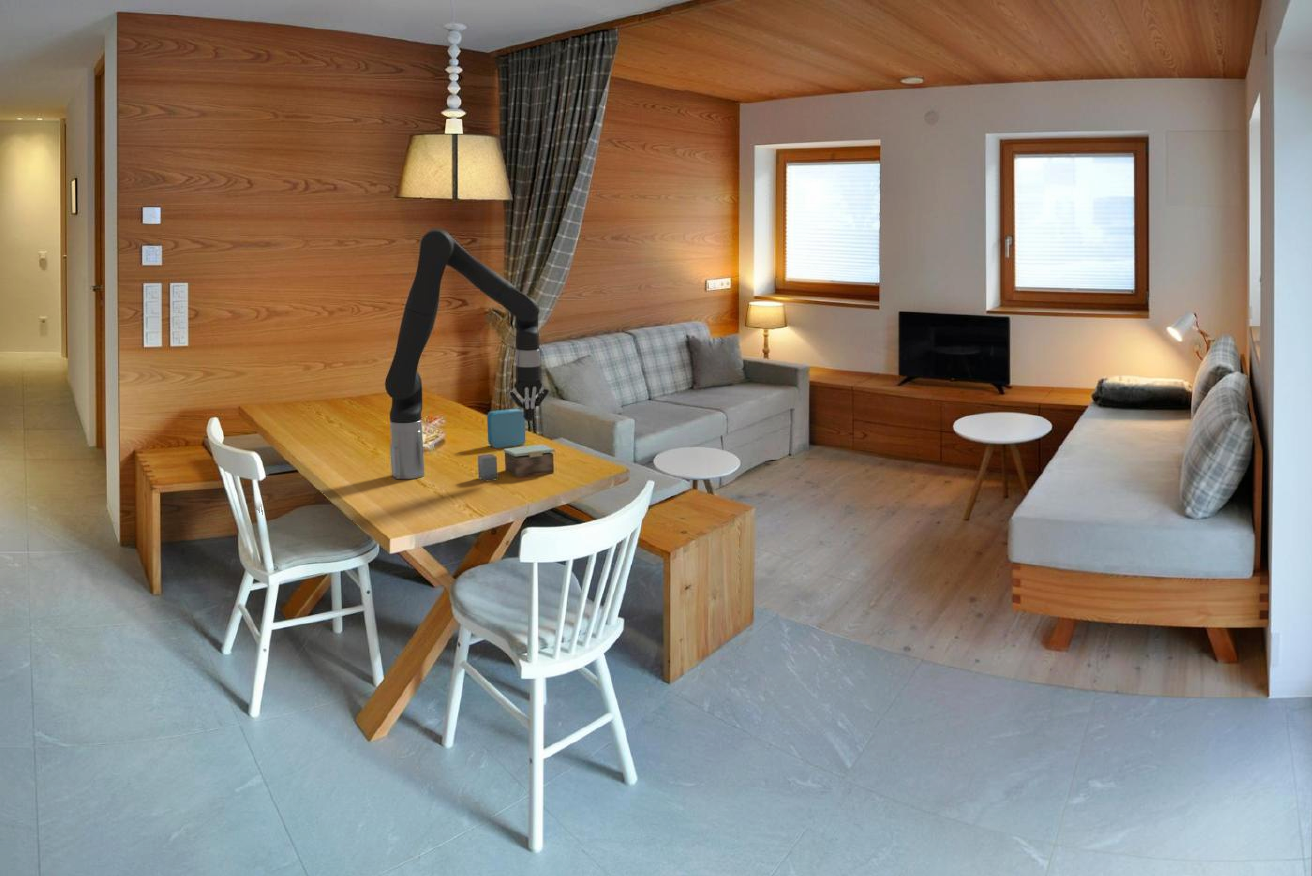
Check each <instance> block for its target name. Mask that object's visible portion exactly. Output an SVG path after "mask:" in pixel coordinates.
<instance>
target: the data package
mask: <svg viewBox="0 0 1312 876" xmlns="http://www.w3.org/2000/svg"><path fill="white" fill-rule="evenodd" d="M486 421H487V443H488V444H489V446H490V447H493V448H494V449H500V448H501V449H502V448H511V447H517V446H518V447H520V446H524V445H525V444H526V438H527V437H526V420H525V419H524V417H523V410H521V409H519V408H511V409H501V410H491V411H489V412H488V413H487V415H486ZM510 446H511V447H510Z"/></svg>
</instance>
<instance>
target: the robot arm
mask: <svg viewBox="0 0 1312 876" xmlns="http://www.w3.org/2000/svg"><path fill="white" fill-rule="evenodd" d="M447 266H448V267H450V268H451V269H454V270H455V271H456V272H457V273H459V274H461V275H462V276H463V277H465V279H467V280H468V281H469V282H470V283H471V284H472V285H473V286H474V287H475V288H476V289H478V290H479V291H480V292H482V293H483V294H484V295H486V296H487V297H488V298H490V299H492V301H494V302H496V303H498V304H499V305H501V306H503V307H504V308H505V309H506V310H507V311H508V312H509V313H511V315H512V316H514V317H515V327H516V328H515V331H516V332H515V355H514V364H515V365H514V366H515V367H514V369H515V370H514V371H515V382H514V385H513V387H514V388H512V389H511V390H508V391H507V395H508V396H509V398H510V399H511V400H513V402H514V403H515V404H516V406H517V407H519V408H522V411H523V417H524V419H525V422H532V421H533V419H534V417H535V408H536V407H539V406H540V405H541V404H542V403H543V401H544V399H545V398H546V397H547V395H548V394H549V391H550V390H549V389H547V388H545V387H544V386H543V383H542V381H541V380H542V379H541V377H542V376H541V352H540V334H539V313H540V307H539V305H538V302H537V301H536V300H535V298H533V297H531V296H528V295H526V294H525V293H523V292H522V291H520V290H519V289H517V288H516V287H515V286H514V285H513V284H512V282H510V281H508V279H505V278H504V277H503V276H501V275H500V274H498V273H497V272H496V271H494V270H493V269H491V268H490V267H488V266H487V265H485V264H484V263H483V262H481V261H479V260H478V258H475V257H474V256H473V255H472V254H470V253H469V252H468V251H467V250H466V249H465V248H463V247H462V246H461V244H459V243H458V242H457V241H456V240H455V239H454V238H453V237H452V236H451V235H450V233H449V232H447V231H446V230H444V229H443V228H442V229H440V228H434V229H430V230H428V231H427V232H426V233H425V234H424V235H423V236H422V238H421V240H420V244H419V255H418V261H417V267H416V273H415V275H414V280H413V282H412V285H411V286H410V290H409V293H408V295H407V299H406V302H405V305H404V309H403V314H402V317H401V323H400V328H399V333H398V337H397V343H396V349H395V351H394V352H395V353H394V356H393V359H392V362H391V364H390V367H389V369H388V372H387V375H386V377H385V381H384V387H385V391H386V393H387V395H388V396H389V397H390V398H391V408H390V411H389V422H390V423H389V426H390V438H391V439H390V441H391V444H389V450H390V451H389V453H390V454H389V455H390V456H389V457H390V468H391V469H390V471H391V476H392V477H394V479H396V480H411V479H418V478H421V477H424V476H425V459H424V441H423V427H422V426H423V422H422V411H423V384H422V377H421V375H420V372H418V367H419V363H420V359H421V356H422V354H423V351H424V350H425V347H426V346H427V343H428V342H429V339H430V337H431V334H432V333H433V329H434V326H435V322H436V319H437V314H438V310H439V303H440V292H441V283H442V280H443V276H444V272H445V269H446V267H447ZM518 395H519V396H520V398H518ZM520 399H521V400H520Z"/></svg>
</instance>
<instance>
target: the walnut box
mask: <svg viewBox="0 0 1312 876" xmlns="http://www.w3.org/2000/svg"><path fill="white" fill-rule="evenodd" d="M504 463H505V464H504V465H505V467H504V469H505V470H504V471H506V472H508V473H509V474H510V475H512V476H513V477H515V478H516V479H517V478H525V477H526V478H527V477H531V476H540V475H547V474H548V473H549V474H554V473H553V472H554V471H555V470H554V452H549V453H542V456H537V457H529V455H524V456H516V457H515V456H513V455H510V454H508V453H506V452H504Z"/></svg>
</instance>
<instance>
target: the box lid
mask: <svg viewBox="0 0 1312 876" xmlns="http://www.w3.org/2000/svg"><path fill="white" fill-rule="evenodd" d="M502 450H503V452H504V453H505V452H506V453H508V454H510V455H513V456H515V457H516V456H524V455H529V457H537V456H542V453H549V452H551V453H556V450H555V448H553V447H550V446H548V445H545V444H542V443H541V444H534V445H526V446H524V445H523V446H518V447H517V446H515V447H506V448H503V449H502Z"/></svg>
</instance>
